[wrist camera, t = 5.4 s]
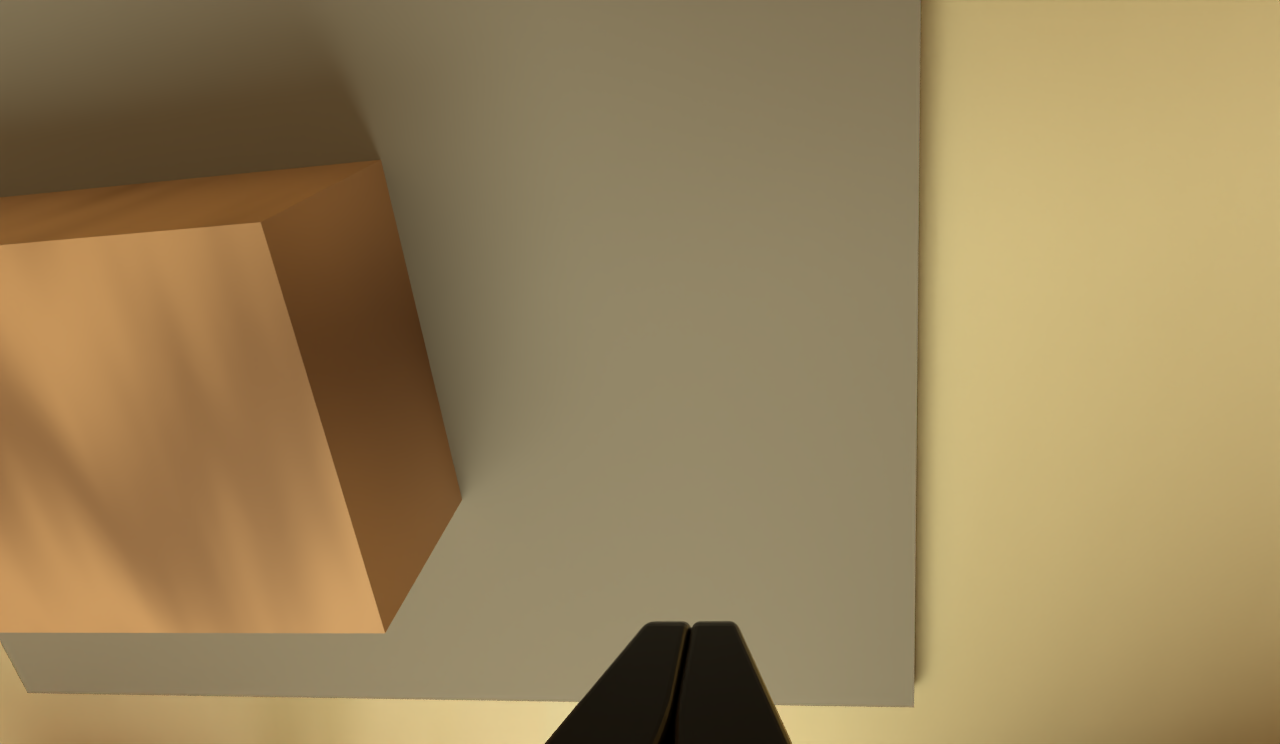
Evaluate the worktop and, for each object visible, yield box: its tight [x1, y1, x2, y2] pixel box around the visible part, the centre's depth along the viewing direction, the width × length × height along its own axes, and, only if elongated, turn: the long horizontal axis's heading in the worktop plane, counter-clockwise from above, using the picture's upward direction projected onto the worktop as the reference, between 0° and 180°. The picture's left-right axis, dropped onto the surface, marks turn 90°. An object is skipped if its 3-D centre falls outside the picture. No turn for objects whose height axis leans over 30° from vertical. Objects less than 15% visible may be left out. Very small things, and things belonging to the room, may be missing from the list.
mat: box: [0, 0, 921, 707], centre depth 17 cm, size 18×22×1 cm
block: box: [0, 160, 462, 633], centre depth 16 cm, size 7×4×9 cm
